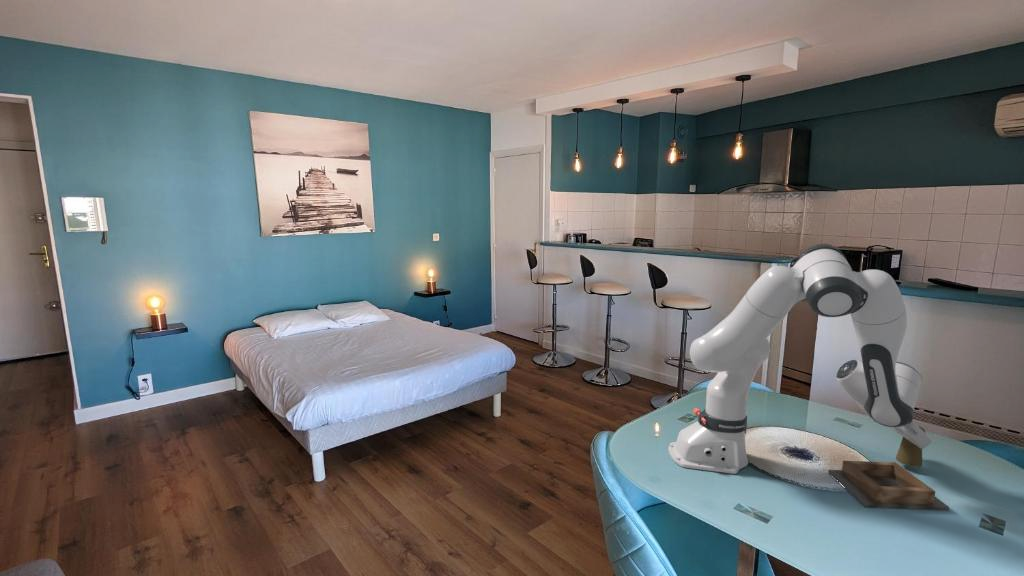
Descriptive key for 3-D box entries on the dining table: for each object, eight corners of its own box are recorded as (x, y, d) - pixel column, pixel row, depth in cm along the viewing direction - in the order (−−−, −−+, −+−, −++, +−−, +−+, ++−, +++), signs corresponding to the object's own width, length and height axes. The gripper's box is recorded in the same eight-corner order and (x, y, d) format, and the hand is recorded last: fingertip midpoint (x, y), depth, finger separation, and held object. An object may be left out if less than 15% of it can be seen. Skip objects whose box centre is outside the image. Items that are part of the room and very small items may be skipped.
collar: (864, 507, 121) (866, 491, 120) (828, 473, 137) (829, 458, 136) (948, 510, 120) (951, 494, 119) (902, 475, 136) (904, 460, 135)
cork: (927, 468, 136) (933, 431, 134) (903, 465, 137) (908, 429, 135) (914, 457, 142) (920, 422, 140) (891, 455, 143) (896, 420, 141)
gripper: (917, 416, 127) (952, 452, 127) (870, 387, 147) (900, 418, 147) (897, 431, 128) (931, 467, 129) (852, 400, 148) (882, 431, 149)
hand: (914, 441), depth 138 cm, fingers closed on cork, 5 cm apart
